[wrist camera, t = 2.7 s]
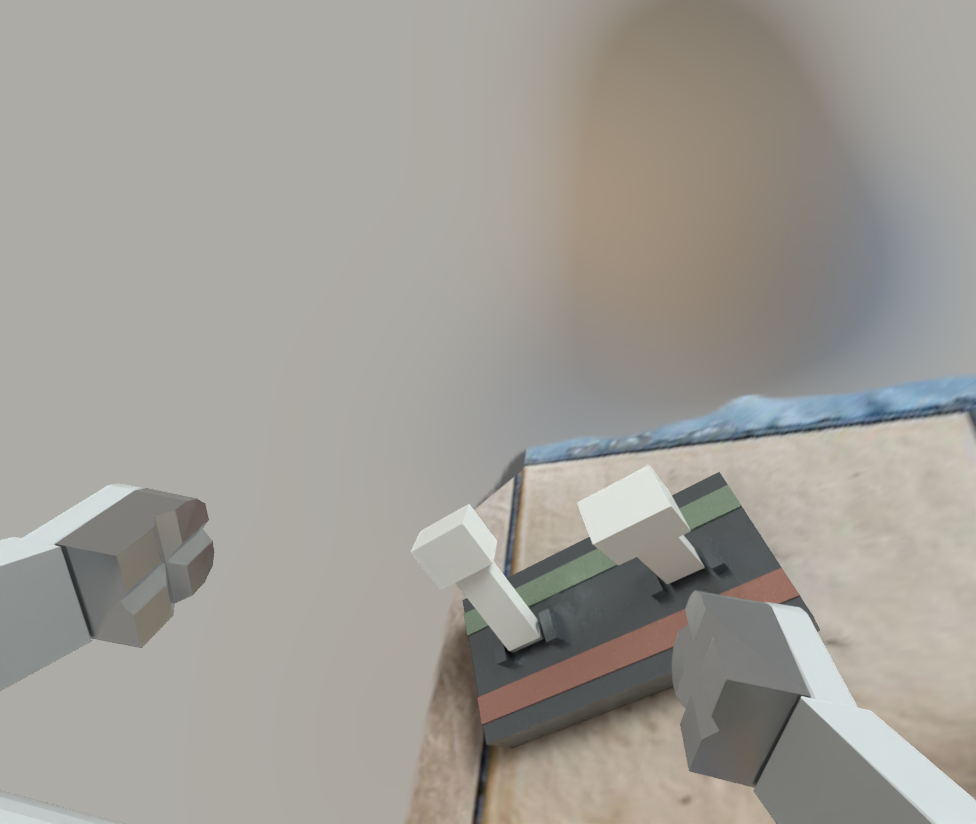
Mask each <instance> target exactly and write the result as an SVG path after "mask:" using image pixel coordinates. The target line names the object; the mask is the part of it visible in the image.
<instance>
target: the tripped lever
mask: <svg viewBox="0 0 976 824" xmlns="http://www.w3.org/2000/svg"><path fill="white" fill-rule="evenodd" d="M577 504H578V507H579V510H580V512H581V515H582V518H583V520H584V523H585V526H586V528H587V531H588V533H589V536H590V539H591V541H592V544H593V545H594V546H595V547H596V548H598V549H599V550H600V551H601V552H602V553H604V554H605V555H606V556H607V557H609V558H610V559H611V560H612V561H613V562H615V563H616V564H617V565H618V566H619V565H621V564H623V563H625V562H627V561H629V560H631V559H634V558H636V557H637V558H639V559H640V560H641V561H642V562H643V563H644V564H645V565H646V566H647V567H649V568H650V569H651V570H652V571H653V572H654V573H655V574H656V575H657V576H658V577H660V578H661V579H662V580H663V581H664V582H665V583H666V584H669V583H672V582H674V581H676V580H678V579H681V578H683V577H685V576H687V575H690V574H692V573H694V572H696V571H699V570H701V569H703V568H705V566H704V563H703V561H702V560H701V558H700V556H699V554H698V553H697V551H696V550H695V548H694V547H693V546H692V545H691V544H690V542H689V541H688V540H687V539H686V538H685V536H684V534H686V533H689V532H691V530H690V528H689V526H688V525H687V523H686V521H685V519H684V517H683V515H682V513H681V512H680V510H679V508H678V506H677V504H676V502H675V501H674V499H673V497H672V495H671V493H670V491H669V490H668V489H667V488H666V486H665V485H664V484H663V482H662V481H661V480H660V478H659V477H658V476H657V475H656V473H655V472H654V471H653V469H652V468H651V467H650V465H647V466H645V467H644V468H642V469H640V470H638V471H636V472H634V473H632V474H630V475H628V476H626V477H625V478H623V479H621V480H619V481H617V482H615V483H613V484H611V485H609V486H607V487H606V488H604V489H602V490H600V491H598V492H596V493H594V494H592V495H590V496H588V497H587V498H585V499H583V500H581V501H579V502H577Z"/></svg>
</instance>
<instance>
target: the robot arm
mask: <svg viewBox="0 0 976 824" xmlns="http://www.w3.org/2000/svg"><path fill="white" fill-rule="evenodd" d="M208 520H209V519H208V514H207V509H206V505H205V503H203V502H201V501H200V500H198V499H195V498H191V497H186V496H181V495H177V494H172V493H167V492H162V491H157V490H153V489H147V488H145V489H144V488H141V487H136V486H131V485H126V484H121V483H120V484H113V485H108V486H106V487H105V488H103V489H101V490H100V491H98V492H96V493H95V494H93V495H92V496H90V497H88V498H87V499H85V500H83V501H82V502H80V503H79V504H77V505H75V506H74V507H72V508H70V509H69V510H67V511H65V512H64V513H62V514H61V515H59V516H57V517H56V518H54V519H53V520H51V521H49V522H48V523H46V524H44V525H43V526H41V527H39V528H38V529H36V530H35V531H33V532H31V533H30V534H28V535H26V536H25V537H23V538H16V537H11V538H7V539H4V540H0V691H2V690H3V689H5V688H7V687H9V686H11V685H13V684H14V683H16V682H18V681H20V680H22V679H24V678H25V677H27V676H29V675H31V674H33V673H34V672H36V671H38V670H40V669H42V668H44V667H46V666H47V665H49V664H51V663H53V662H55V661H57V660H58V659H60V658H62V657H64V656H66V655H68V654H69V653H71V652H73V651H75V650H77V649H79V648H80V647H82V646H84V645H86V644H88V643H90V642H91V641H92V640H91V638H92V639H97V640H102V641H108V642H113V643H118V644H124V645H129V646H134V647H139V648H142V647H143V646H144V645H145V644H146V643H147V642H148V641H149V640H150V639H151V638H152V637H153V636H154V635H155V634H156V633H157V632H158V631H159V630H160V628H162V627H163V626H164V624H165V623H166V622H167V621H168V620H169V619H170V618H171V617H172V616H173V612H174V604H175V603H177V602H179V601H181V600H183V599H186V598H187V597H190V596H192V595H193V594H194V593H195V592H196V591H197V590H198V589H199V588H200V587H201V586H202V584H203V583H204V582H205V580H206V578H207V576H208V574H209V572H210V570H211V568H212V565H213V558H214V548H213V541H212V540H211V538H210V537H209V536H208V535H207V534H206V532H205V531H204V530H203V527H204V526H205V524H206V523H207V522H208ZM685 611H686V615H687V619H688V625H687V626H685V627H683V628H682V629H680V630H679V631H678V633H677V636H676V640H675V643H674V647H673V656H672V680H673V686H674V692H675V696H676V697H677V699H678V700H679V701H680V702H681V703H682V705H683V706H684V707H685V708H686V710H685V712H684V715H683V718H682V721H681V724H680V726H681V731H682V736H683V741H684V747H685V752H686V757H687V762H688V768H689V771H691V772H695V773H699V774H703V775H707V776H711V777H715V778H719V779H722V780H726V781H730V782H734V783H738V784H742V785H746V786H750V787H754V790H753V791H754V792H755V794H756V795H757V797H758V798H759V800H760V801H761V802H762V804H763V805H764V807H765V808H766V809H767V811H768V812H769V814H770V815H771V817H772V818H773V819H774V821H775V822H776V824H976V800H975V799H974V798H973V797H971V796H970V795H969V794H968V793H967V792H965V791H964V790H963V789H962V788H961V787H960V786H958V785H957V784H956V783H955V782H954V781H953V780H951V779H950V778H949V777H948V776H947V775H946V774H944V773H943V772H942V771H941V770H940V769H939V768H937V767H936V766H935V765H934V764H933V763H931V762H930V761H929V760H928V759H927V758H926V757H924V756H923V755H922V754H921V753H920V752H919V751H917V750H916V749H915V748H914V747H913V746H912V745H910V744H909V743H908V742H907V741H906V740H905V739H903V738H902V737H901V736H900V735H899V734H898V733H896V732H895V731H894V730H893V729H892V728H890V727H889V726H888V725H887V724H886V723H885V722H883V721H882V720H881V719H880V718H879V717H878V716H876V715H875V714H874V713H873V712H872V711H870V710H865V709H861V708H858V706H857V705H856V703H855V701H854V699H853V697H852V695H851V694H850V692H849V690H848V688H847V686H846V684H845V682H844V681H843V679H842V677H841V675H840V673H839V671H838V669H837V668H836V666H835V664H834V662H833V660H832V658H831V656H830V655H829V653H828V651H827V649H826V647H825V645H824V644H823V642H822V640H821V638H820V636H819V634H818V632H817V631H816V629H815V627H814V625H813V623H812V621H811V619H810V618H809V616H808V614H807V613H806V612H805V611H804V610H803V609H801V608H800V607H794V606H788V605H782V604H776V603H769V602H763V603H762V602H759V601H753V600H747V599H742V598H736V597H730V596H725V595H719V594H714V593H708V592H702V591H697V590H694V591H693V593H692V594H691V596H690V597H689V600H688V603H687V606H686V608H685ZM0 824H123V823H119V822H115V821H112V820H108V819H105V818H101V817H97V816H93V815H90V814H86V813H82V812H79V811H75V810H71V809H68V808H64V807H60V806H57V805H53V804H49V803H46V802H42V801H38V800H34V799H31V798H27V797H23V796H19V795H16V794H12V793H9V792H5V791H1V790H0Z"/></svg>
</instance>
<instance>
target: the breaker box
mask: <svg viewBox="0 0 976 824" xmlns="http://www.w3.org/2000/svg"><path fill="white" fill-rule="evenodd" d="M672 497H673V499H674V501H675V502H676V504H677V506H678V508H679V510H680V512H681V513H682V515H683V517H684V519H685V521H686V523H687V525H688V526H689V528H690V530H691V532H689V533H686V534H684V536H685V538H686V539H687V540H688V541H689V542H690V544H691V545H692V546H693V547H694V548H695V550H696V551H697V553H698V554H699V556H700V558H701V560H702V561H703V563H704V566H705V568H703V569H701V570H699V571H696V572H694V573H692V574H690V575H687V576H685V577H683V578H681V579H678V580H676V581H674V582H672V583H669V584H666V583H665V582H664V581H663V580H662V579H661V578H660V577H658V576H657V575H656V574H655V573H654V572H653V571H652V570H651V569H650V568H649V567H647V566H646V565H645V564H644V563H643V562H642V561H641V560H640V559H639V558H637V557H636V558H634V559H631V560H629V561H627V562H625V563H623V564H621V565H619V566H618V565H617V564H616V563H615V562H613V561H612V560H611V559H610V558H609V557H607V556H606V555H605V554H604V553H602V552H601V551H600V550H599V549H598V548H596V547H595V546H594V545H593V544H592V541H591V539H590V537H588V538H586V539H584V540H582V541H580V542H578V543H576V544H574V545H572V546H570V547H568V548H566V549H564V550H562V551H560V552H558V553H556V554H554V555H552V556H550V557H548V558H546V559H544V560H542V561H540V562H538V563H536V564H534V565H532V566H530V567H528V568H526V569H524V570H522V571H520V572H518V573H516V574H514V575H512V576H510V577H508V578H506V579H507V580H508V581H509V582H510V584H511V585H512V586H513V588H514V589H515V590H516V592H517V593H518V594H519V596H520V597H521V598H522V600H523V601H524V602H525V604H526V605H527V606H528V608H529V609H530V610H531V611H532V613H533V614H534V615H535V617H536V618H537V619H538V621H539V622H540V624H541V626H542V629H543V633H544V636H545V638H544V639H542V640H540V641H538V642H536V643H533V644H531V645H529V646H527V647H525V648H522V649H520V650H518V651H516V652H513V653H512V652H510V651H508V649H507V648H506V647H505V645H504V644H503V643H502V642H501V640H500V639H499V638H498V637H497V635H496V634H495V633H494V632H493V630H492V629H491V628H490V626H489V625H488V624H487V623H486V621H485V620H484V619H483V618H482V616H481V615H480V614H479V612H478V611H477V610H476V609H475V607H474V606H473V605H472V604H471V602H470V601H469V600H468V599H467V598H466V599H464V600H463V606H464V612H465V614H464V619H465V625H466V631H467V636H469V642H470V648H471V654H472V660H473V666H474V673H475V679H476V685H477V691H478V698H477V699H478V705H479V711H480V717H481V723H482V725H483V727H484V733H485V739H486V745H494V746H501V747H509V748H514V747H516V746H519V745H522V744H524V743H527V742H529V741H532V740H535V739H537V738H540V737H542V736H545V735H548V734H550V733H553V732H555V731H558V730H561V729H563V728H566V727H569V726H571V725H574V724H576V723H579V722H582V721H584V720H587V719H589V718H592V717H595V716H597V715H600V714H602V713H605V712H608V711H610V710H613V709H615V708H618V707H621V706H623V705H626V704H629V703H631V702H634V701H636V700H639V699H642V698H644V697H647V696H649V695H652V694H655V693H657V692H660V691H662V690H665V689H668V688H670V687H673V680H672V656H673V647H674V643H675V640H676V636H677V633H678V631H679V630H680V629H682V628H683V627H685V626H687V625H688V619H687V615H686V611H685V608H686V606H687V603H688V600H689V597H690V596H691V594H692V593H693V591H694V590H697V591H702V592H708V593H714V594H719V595H725V596H730V597H736V598H742V599H747V600H753V601H759V602H762V603H763V602H769V603H776V604H782V605H788V606H794V607H800V608H801V609H803V610H804V611H805V612H806V613H807V614H808V616H809V618H810V619H811V621H812V623H813V625H814V627H815V629H816V631H819V630H820V629H819V627H818V625H817V623H816V621H815V619H814V617H813V615H812V614H811V612H810V611H809V609H808V608H807V606H806V605H805V603H804V602H803V600H802V598H801V597H800V595H799V594H798V592H797V591H796V589H795V588H794V586H793V584H792V583H791V581H790V580H789V578H788V577H787V575H786V574H785V572H784V571H783V569H782V568H781V566H780V565H779V563H778V562H777V560H776V558H775V557H774V555H773V554H772V552H771V551H770V549H769V548H768V546H767V545H766V543H765V542H764V540H763V538H762V537H761V535H760V534H759V532H758V531H757V529H756V528H755V526H754V525H753V523H752V522H751V520H750V518H749V517H748V515H747V514H746V512H745V511H744V509H743V508H742V506H741V504H740V503H739V501H738V500H737V498H736V497H735V495H734V494H733V492H732V491H731V489H730V488H729V486H728V485H727V483H726V481H725V480H724V478H723V477H722V475H721V474H720V472H718V473H716V474H714V475H712V476H710V477H708V478H706V479H704V480H702V481H700V482H698V483H696V484H694V485H692V486H690V487H688V488H686V489H684V490H682V491H680V492H678V493H676V494H674V495H672Z"/></svg>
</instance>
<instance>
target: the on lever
mask: <svg viewBox="0 0 976 824" xmlns="http://www.w3.org/2000/svg"><path fill="white" fill-rule="evenodd" d="M496 546H497V540H496V539H495V538H494V536H493V535H492V534H491V532H490V531H489V530H488V528H487V527H486V526H485V524H484V523H483V522H482V520H481V519H480V518H479V516H478V515H477V514H476V512H475V511H474V510H473V508H472V507H471V506H470V504H468V505H466V506H465V507H462V508H461V509H459V510H457V511H455V512H453V513H452V514H450V515H448V516H446V517H445V518H443V519H441V520H439V521H438V522H436V523H434V524H432V525H431V526H429V527H427V528H425V529H424V530H422V531H420V533H419V535H418V537H417V539H416V541H415V544H414V546H413V548H412V550H411V552H410V553H411V554H412V555H413V556H414V558H415V559H416V560H417V561H418V562H419V564H420V565H421V566H422V568H423V569H424V570H425V571H426V573H427V574H428V575H429V576H430V578H431V579H432V580H433V581H434V583H435V584H436V585H437V586H438V588H439V589H440V590H443V589H445V588H446V587H449V586H451V585H453V584H454V583H456V585H457V586H458V587H459V588H460V590H461V591H462V592H463V593H464V595H465V596H466V597H467V599H468V600H469V601H470V602H471V604H472V605H473V606H474V607H475V609H476V610H477V611H478V612H479V614H480V615H481V616H482V618H483V619H484V620H485V621H486V623H487V624H488V625H489V626H490V628H491V629H492V630H493V632H494V633H495V634H496V635H497V637H498V638H499V639H500V640H501V642H502V643H503V644H504V645H505V647H506V648H507V649H508V651H510V652H512V653H513V652H516V651H518V650H520V649H522V648H525V647H527V646H529V645H531V644H533V643H536V642H538V641H540V640H542V639H544V638H545V636H544V633H543V629H542V626H541V624H540V622H539V621H538V619H537V618H536V617H535V615H534V614H533V613H532V611H531V610H530V609H529V608H528V606H527V605H526V604H525V602H524V601H523V600H522V598H521V597H520V596H519V594H518V593H517V592H516V590H515V589H514V588H513V586H512V585H511V584H510V582H509V581H508V580H507V579H506V577H505V576H504V575H503V573H502V572H501V571H500V569H499V568H498V567H497V565H496V564H495V563H494V556H495V551H496Z"/></svg>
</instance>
